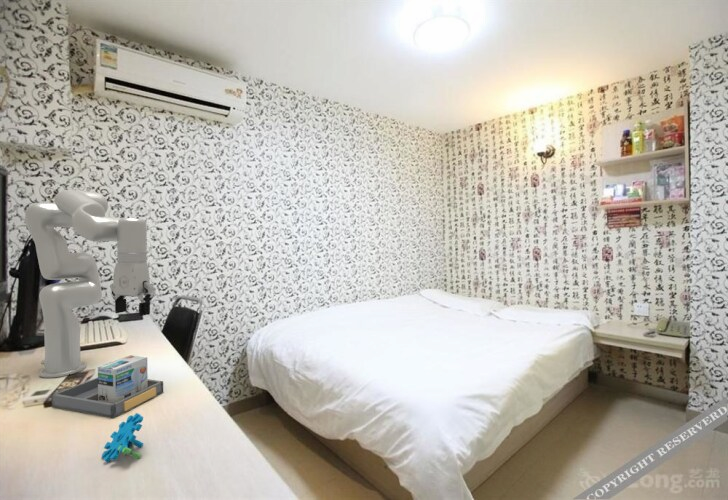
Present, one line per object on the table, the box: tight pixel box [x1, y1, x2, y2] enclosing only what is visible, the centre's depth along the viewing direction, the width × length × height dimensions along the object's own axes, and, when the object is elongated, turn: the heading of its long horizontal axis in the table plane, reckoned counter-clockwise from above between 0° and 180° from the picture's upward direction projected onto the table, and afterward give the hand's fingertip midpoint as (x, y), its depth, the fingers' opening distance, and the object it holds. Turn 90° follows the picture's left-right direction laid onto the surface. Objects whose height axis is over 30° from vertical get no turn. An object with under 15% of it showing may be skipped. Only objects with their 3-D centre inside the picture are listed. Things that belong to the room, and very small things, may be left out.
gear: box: [101, 412, 144, 463], centre depth 77 cm, size 11×6×10 cm
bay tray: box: [51, 376, 164, 419], centre depth 102 cm, size 23×16×4 cm
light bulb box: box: [97, 355, 149, 404], centre depth 101 cm, size 11×7×11 cm, turn 165°
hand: (132, 313), depth 107 cm, fingers open, 9 cm apart
